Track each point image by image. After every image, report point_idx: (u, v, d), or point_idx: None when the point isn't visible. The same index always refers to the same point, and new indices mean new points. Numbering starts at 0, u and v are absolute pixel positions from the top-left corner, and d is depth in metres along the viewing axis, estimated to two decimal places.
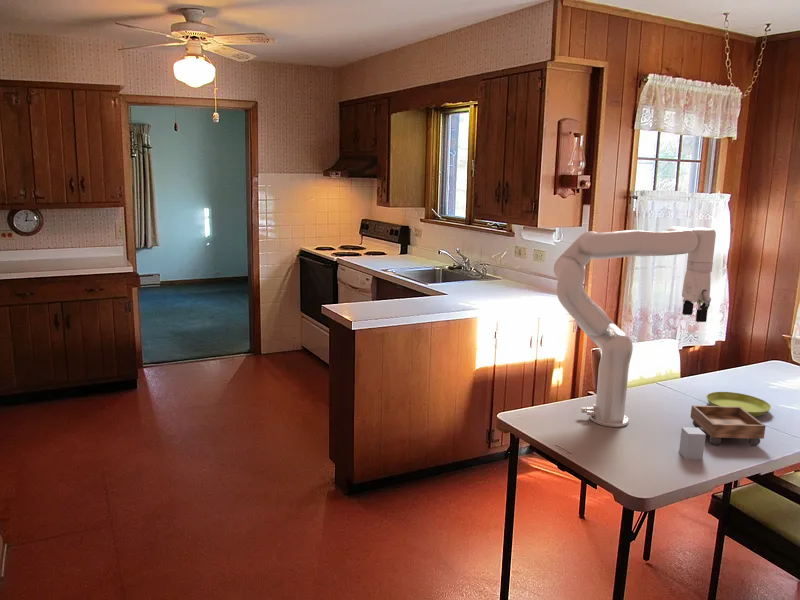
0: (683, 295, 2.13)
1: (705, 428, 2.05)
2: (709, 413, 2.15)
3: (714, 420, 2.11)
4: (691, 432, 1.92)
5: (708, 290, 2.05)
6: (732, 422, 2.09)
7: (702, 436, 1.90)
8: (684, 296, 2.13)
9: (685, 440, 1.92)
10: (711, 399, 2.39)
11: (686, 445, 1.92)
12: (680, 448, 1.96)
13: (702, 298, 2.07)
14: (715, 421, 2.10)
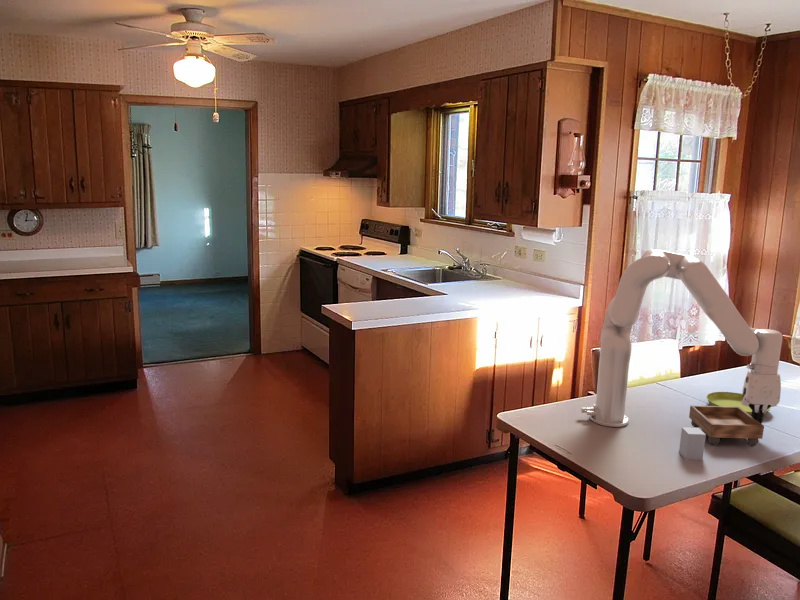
0: (754, 401, 2.03)
1: (704, 428, 2.05)
2: (708, 413, 2.15)
3: (712, 420, 2.11)
4: (691, 432, 1.92)
5: None
6: (731, 422, 2.09)
7: (702, 436, 1.90)
8: (757, 402, 2.03)
9: (685, 440, 1.92)
10: (711, 399, 2.39)
11: (686, 446, 1.92)
12: (680, 448, 1.96)
13: None
14: (714, 421, 2.10)
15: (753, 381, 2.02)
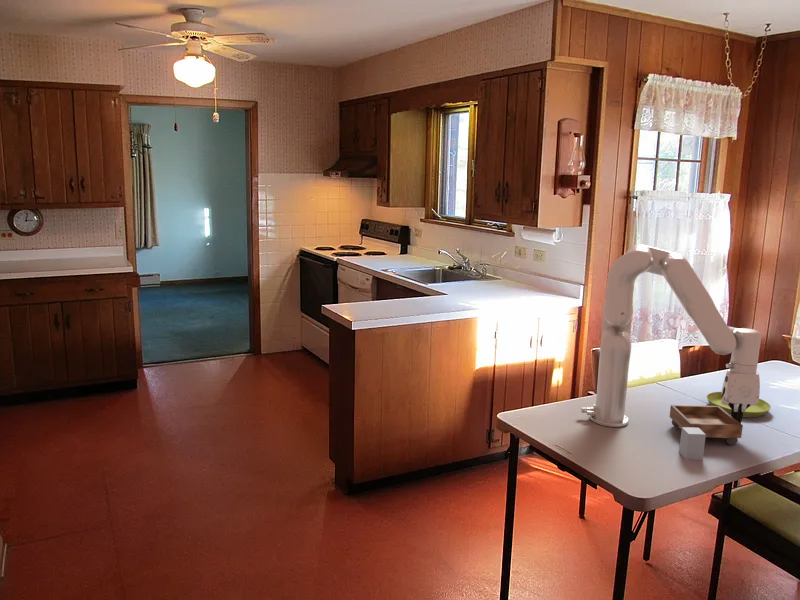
0: (733, 401, 2.03)
1: None
2: (688, 412, 2.15)
3: (692, 419, 2.11)
4: (691, 432, 1.92)
5: None
6: (710, 421, 2.09)
7: (702, 436, 1.90)
8: (736, 401, 2.03)
9: (685, 440, 1.92)
10: (711, 399, 2.39)
11: (686, 445, 1.92)
12: (680, 448, 1.96)
13: None
14: (694, 421, 2.10)
15: (732, 380, 2.02)
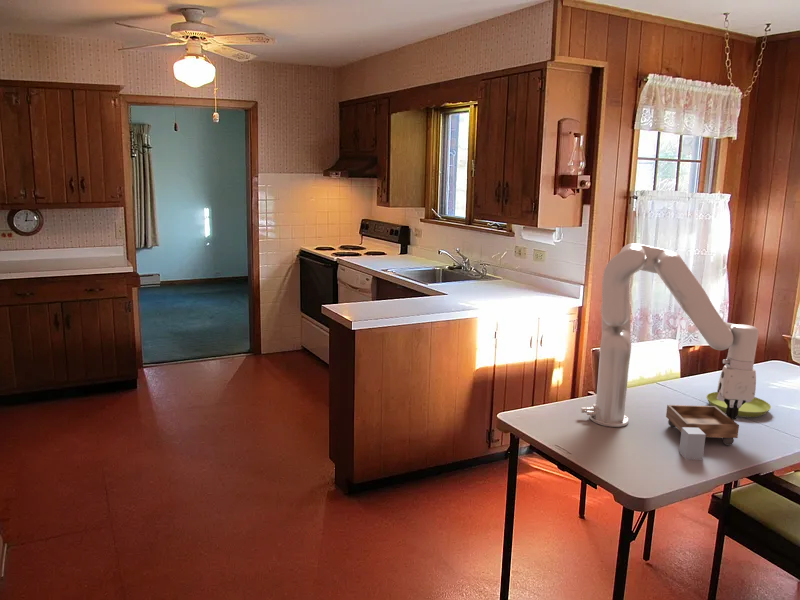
0: (729, 396, 2.03)
1: (680, 427, 2.05)
2: (684, 412, 2.15)
3: (689, 419, 2.11)
4: (691, 432, 1.92)
5: None
6: (707, 421, 2.09)
7: (702, 436, 1.90)
8: (731, 397, 2.03)
9: (685, 440, 1.92)
10: (711, 399, 2.39)
11: (686, 446, 1.92)
12: (680, 448, 1.96)
13: None
14: (690, 421, 2.10)
15: (728, 376, 2.02)
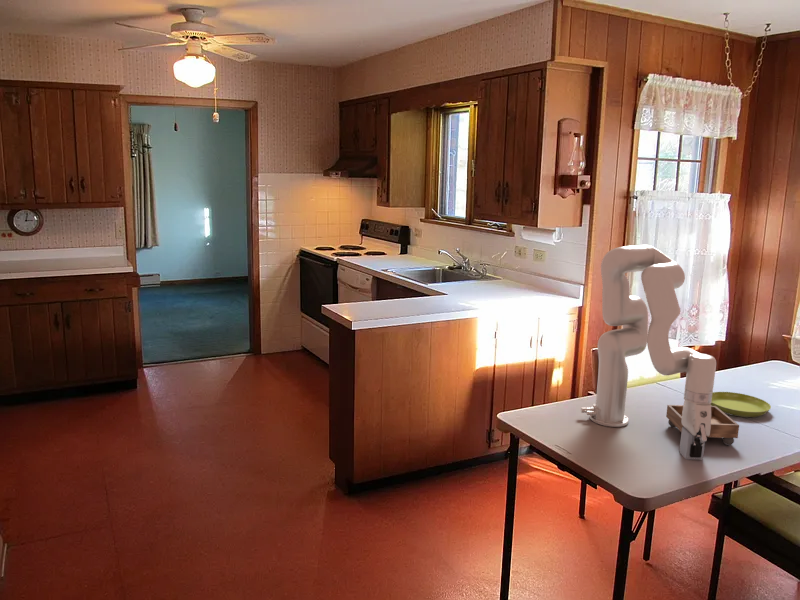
0: None
1: (680, 427, 2.05)
2: None
3: None
4: None
5: None
6: None
7: None
8: None
9: (686, 440, 1.92)
10: None
11: (686, 445, 1.92)
12: (680, 448, 1.96)
13: None
14: None
15: None
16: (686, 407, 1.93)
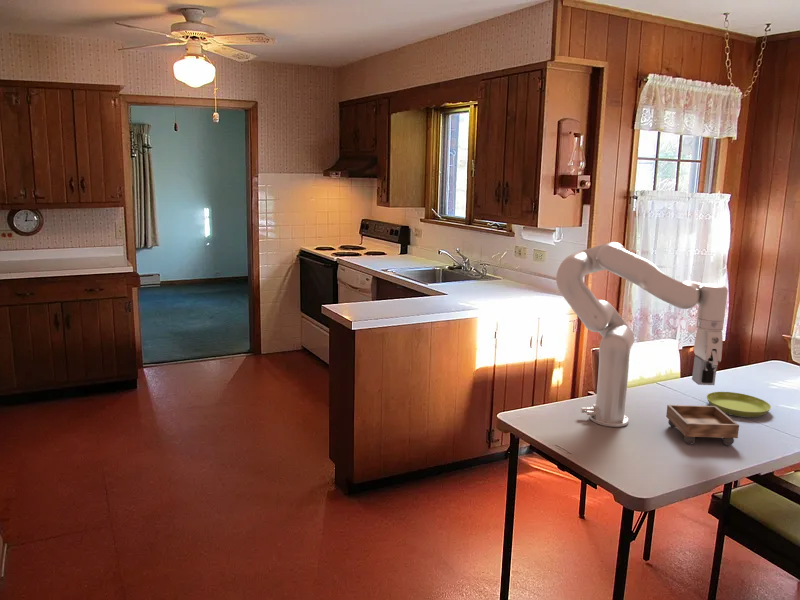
0: None
1: (680, 427, 2.05)
2: (685, 412, 2.15)
3: (689, 419, 2.11)
4: None
5: None
6: (707, 421, 2.09)
7: None
8: None
9: (698, 367, 2.02)
10: (711, 399, 2.39)
11: (699, 372, 2.02)
12: (693, 376, 2.06)
13: None
14: (690, 421, 2.10)
15: None
16: (698, 336, 2.03)
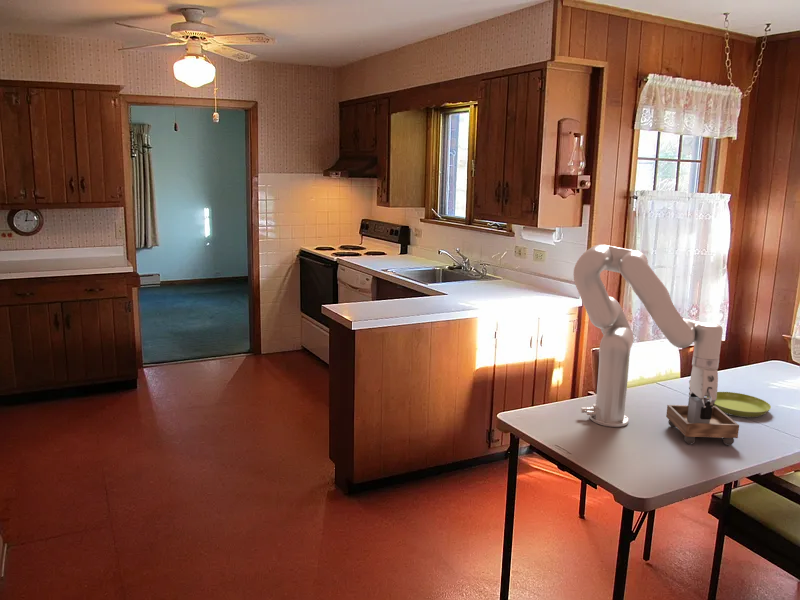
0: None
1: (680, 427, 2.05)
2: (685, 412, 2.15)
3: None
4: (698, 401, 2.05)
5: None
6: None
7: None
8: None
9: (693, 409, 2.06)
10: None
11: (693, 413, 2.05)
12: (688, 416, 2.10)
13: None
14: None
15: (717, 377, 2.00)
16: (694, 373, 2.06)
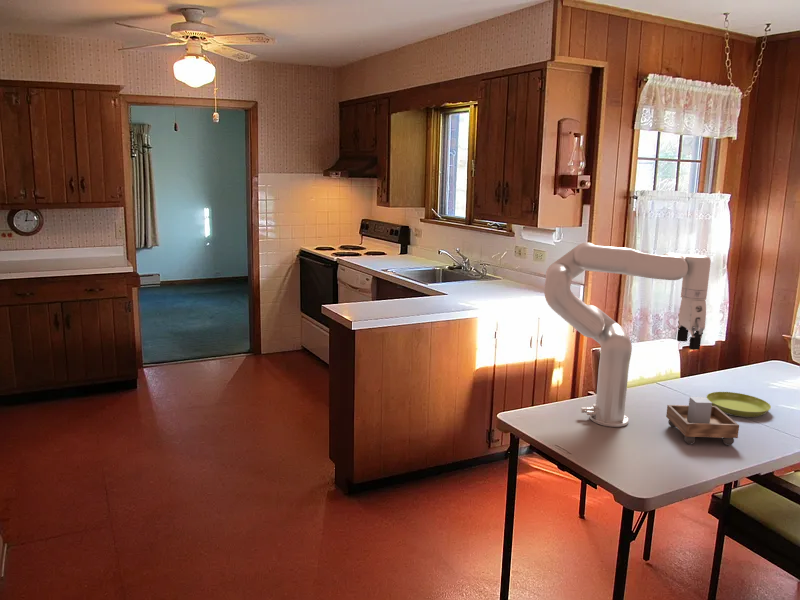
0: None
1: (680, 427, 2.05)
2: (685, 412, 2.15)
3: None
4: (698, 401, 2.05)
5: None
6: None
7: (709, 404, 2.04)
8: None
9: (693, 409, 2.06)
10: (711, 399, 2.39)
11: (693, 413, 2.05)
12: (688, 416, 2.10)
13: None
14: None
15: (705, 307, 2.03)
16: (682, 305, 2.09)
